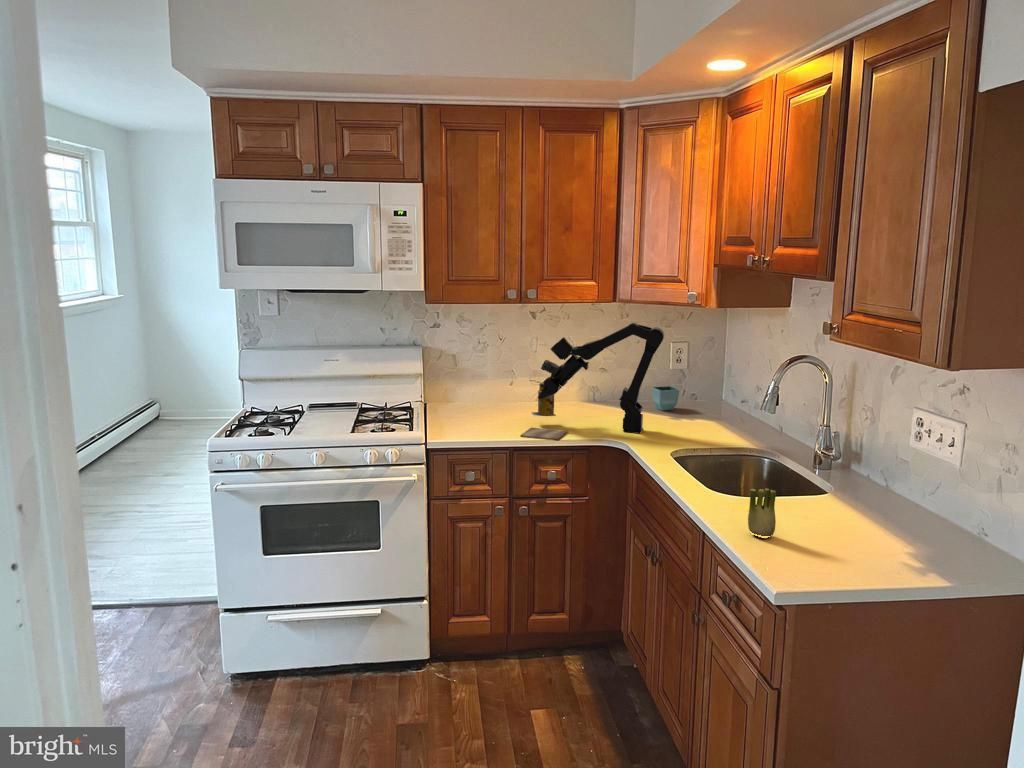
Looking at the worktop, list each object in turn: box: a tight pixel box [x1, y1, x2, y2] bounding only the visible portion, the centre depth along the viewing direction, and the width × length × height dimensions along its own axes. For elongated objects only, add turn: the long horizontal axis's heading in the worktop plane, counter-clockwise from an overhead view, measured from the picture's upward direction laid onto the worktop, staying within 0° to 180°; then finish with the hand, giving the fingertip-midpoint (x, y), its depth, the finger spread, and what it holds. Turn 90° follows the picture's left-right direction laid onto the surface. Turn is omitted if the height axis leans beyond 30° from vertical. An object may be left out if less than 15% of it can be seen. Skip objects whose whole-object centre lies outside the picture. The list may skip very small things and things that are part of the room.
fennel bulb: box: [747, 487, 777, 537], centre depth 185 cm, size 6×5×12 cm
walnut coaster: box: [519, 427, 568, 441], centre depth 281 cm, size 14×12×1 cm
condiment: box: [531, 382, 557, 417], centre depth 293 cm, size 7×8×12 cm
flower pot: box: [651, 385, 680, 411], centre depth 322 cm, size 9×9×9 cm
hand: (540, 396), depth 293 cm, fingers closed on condiment, 6 cm apart
